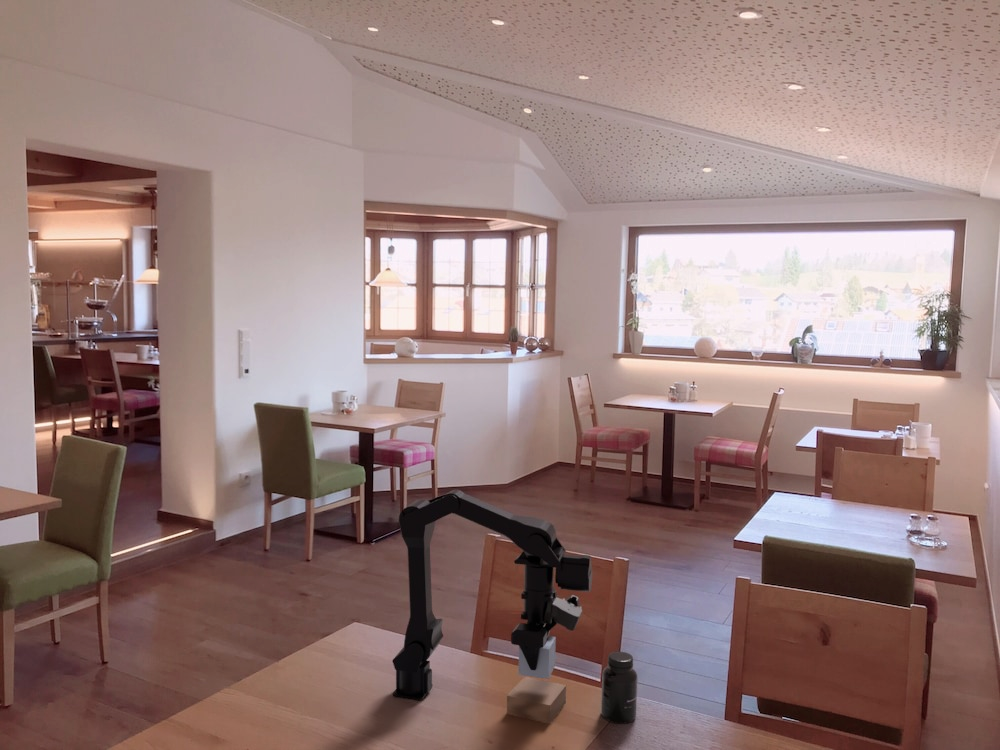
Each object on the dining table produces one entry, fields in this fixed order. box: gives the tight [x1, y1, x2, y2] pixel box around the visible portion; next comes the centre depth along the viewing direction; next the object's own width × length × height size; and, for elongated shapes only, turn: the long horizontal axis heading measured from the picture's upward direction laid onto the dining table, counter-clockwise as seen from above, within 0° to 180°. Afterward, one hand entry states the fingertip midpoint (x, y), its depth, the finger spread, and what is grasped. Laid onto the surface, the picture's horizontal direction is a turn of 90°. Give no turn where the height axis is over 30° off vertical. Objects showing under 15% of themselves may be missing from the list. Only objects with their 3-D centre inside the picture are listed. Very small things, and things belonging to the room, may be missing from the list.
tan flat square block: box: [506, 676, 567, 725], centre depth 159 cm, size 9×9×4 cm
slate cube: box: [518, 635, 557, 680], centre depth 158 cm, size 6×6×6 cm
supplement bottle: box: [600, 651, 639, 724], centre depth 156 cm, size 7×7×12 cm
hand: (537, 662), depth 158 cm, fingers closed on slate cube, 6 cm apart
